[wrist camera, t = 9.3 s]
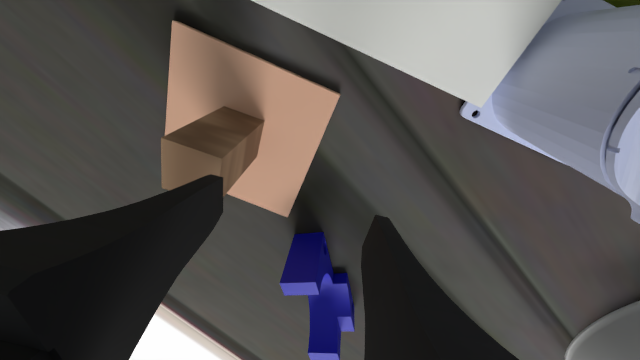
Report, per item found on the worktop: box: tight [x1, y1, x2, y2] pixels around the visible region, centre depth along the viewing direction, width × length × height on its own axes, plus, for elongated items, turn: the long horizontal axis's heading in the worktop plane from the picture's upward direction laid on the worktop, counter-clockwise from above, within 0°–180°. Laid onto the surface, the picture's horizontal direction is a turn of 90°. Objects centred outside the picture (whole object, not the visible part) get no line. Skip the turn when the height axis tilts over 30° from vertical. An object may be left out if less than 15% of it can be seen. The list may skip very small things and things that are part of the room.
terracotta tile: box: [165, 20, 340, 217], centre depth 20 cm, size 12×12×1 cm
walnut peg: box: [161, 106, 265, 197], centre depth 16 cm, size 3×3×7 cm
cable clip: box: [280, 232, 354, 360], centre depth 25 cm, size 12×4×6 cm, turn 12°
